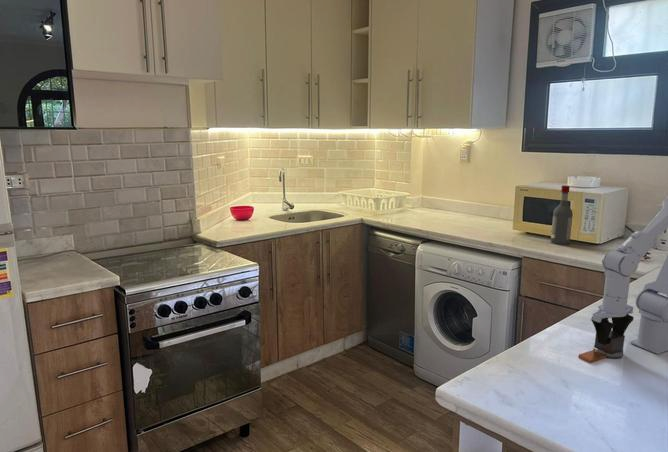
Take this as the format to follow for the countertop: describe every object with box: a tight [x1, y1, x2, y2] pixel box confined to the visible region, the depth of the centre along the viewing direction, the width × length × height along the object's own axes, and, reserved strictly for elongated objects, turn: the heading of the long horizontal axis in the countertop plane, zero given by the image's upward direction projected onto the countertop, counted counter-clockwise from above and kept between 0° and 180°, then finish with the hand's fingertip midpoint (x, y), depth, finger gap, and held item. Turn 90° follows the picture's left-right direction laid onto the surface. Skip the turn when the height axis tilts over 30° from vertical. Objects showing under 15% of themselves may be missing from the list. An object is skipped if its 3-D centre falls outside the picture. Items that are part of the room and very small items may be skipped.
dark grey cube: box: [593, 329, 626, 355], centre depth 136 cm, size 5×5×4 cm
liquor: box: [550, 185, 574, 246], centre depth 257 cm, size 9×9×30 cm
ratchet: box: [577, 344, 624, 364], centre depth 135 cm, size 14×7×4 cm, turn 117°
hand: (609, 341), depth 136 cm, fingers open, 6 cm apart
